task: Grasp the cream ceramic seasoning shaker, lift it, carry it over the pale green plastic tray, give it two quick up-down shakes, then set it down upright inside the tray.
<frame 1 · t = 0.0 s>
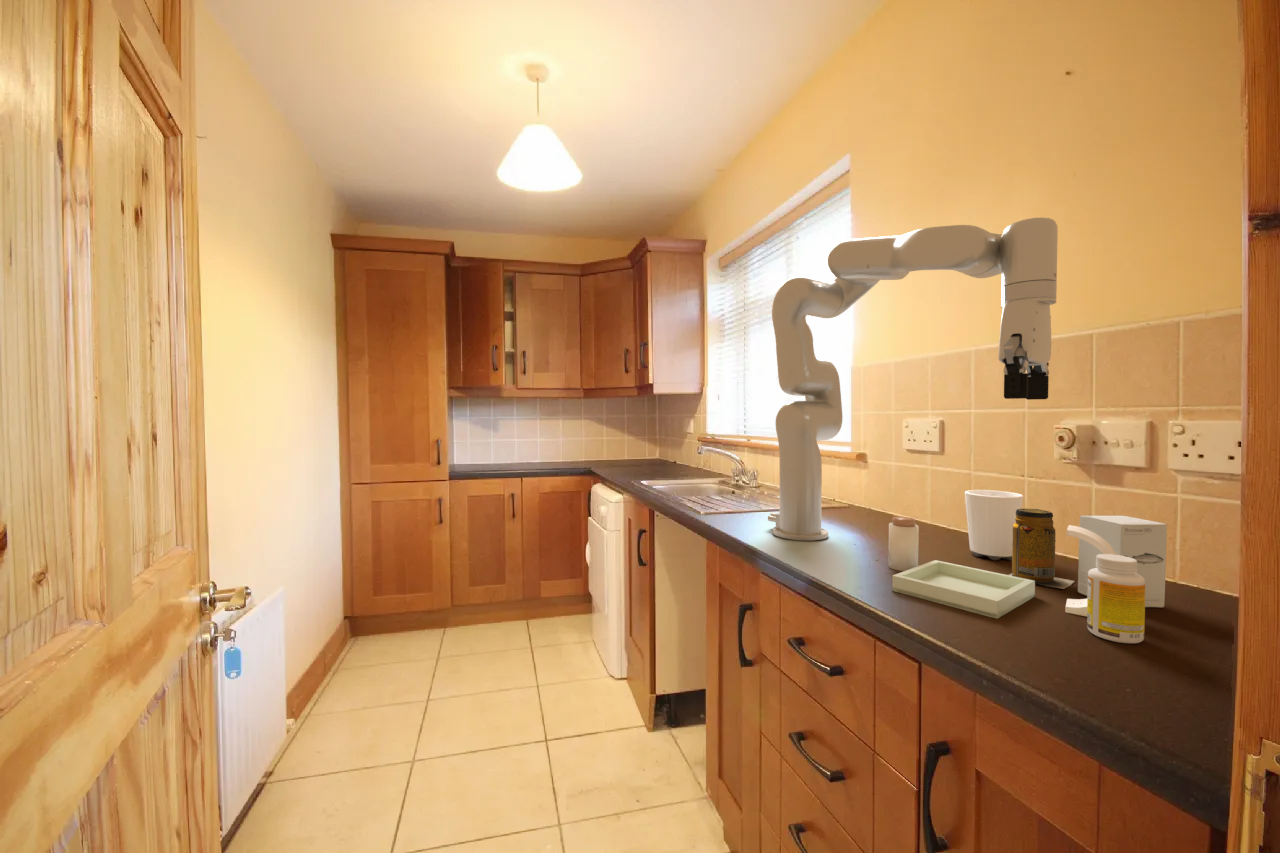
hand: (1026, 398, 90), 31 cm above the countertop, tool pointing down, fingers open, 9 cm apart
headphone stand: (1092, 614, 77), on the countertop
condiment: (1038, 581, 93), on the countertop
cup: (992, 557, 108), on the countertop
supplement bottle: (1114, 637, 69), on the countertop
supplement box: (1119, 601, 83), on the countertop
shaker: (903, 567, 100), on the countertop
tray: (962, 593, 86), on the countertop
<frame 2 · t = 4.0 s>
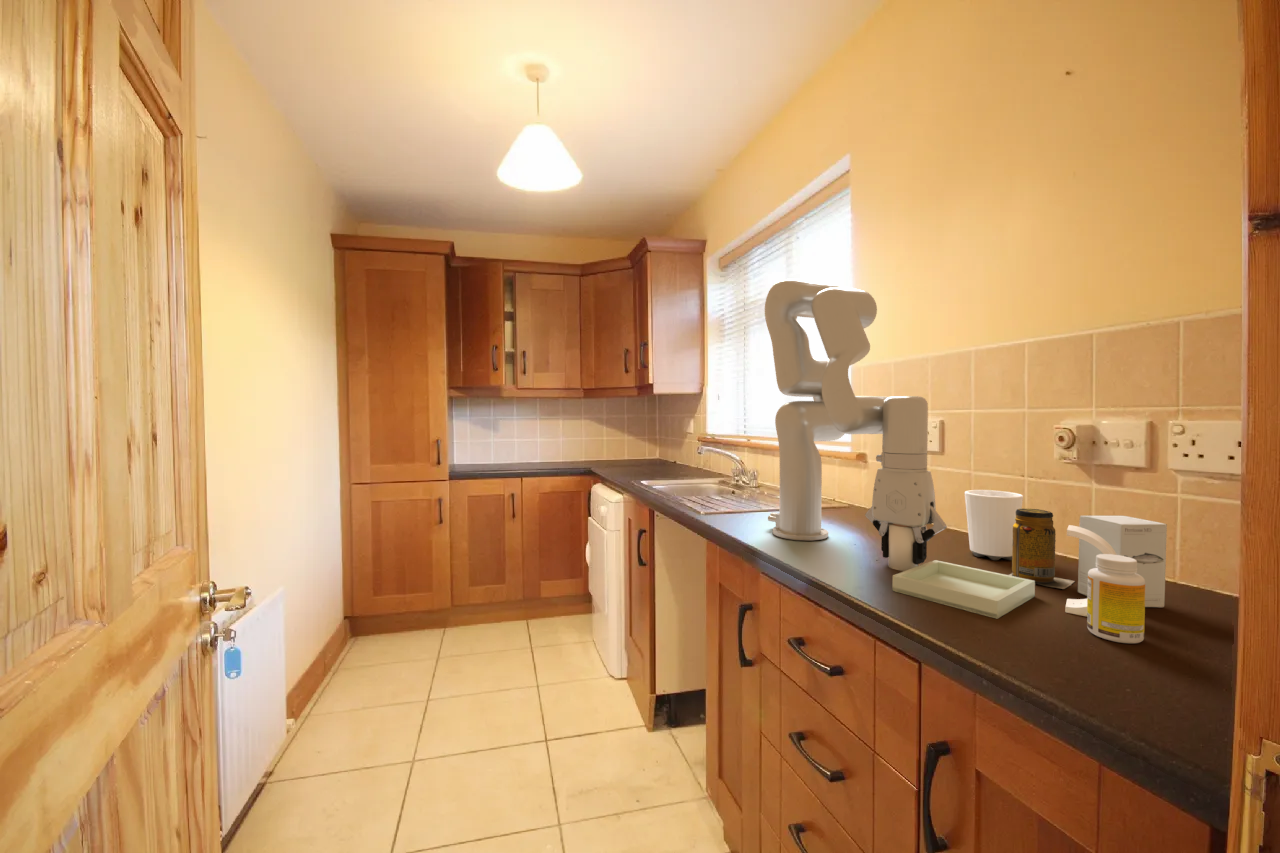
hand: (903, 558, 100), 2 cm above the countertop, tool pointing down, fingers closed on shaker, 5 cm apart
shaker: (903, 567, 100), on the countertop, touching gripper
everything else where it was.
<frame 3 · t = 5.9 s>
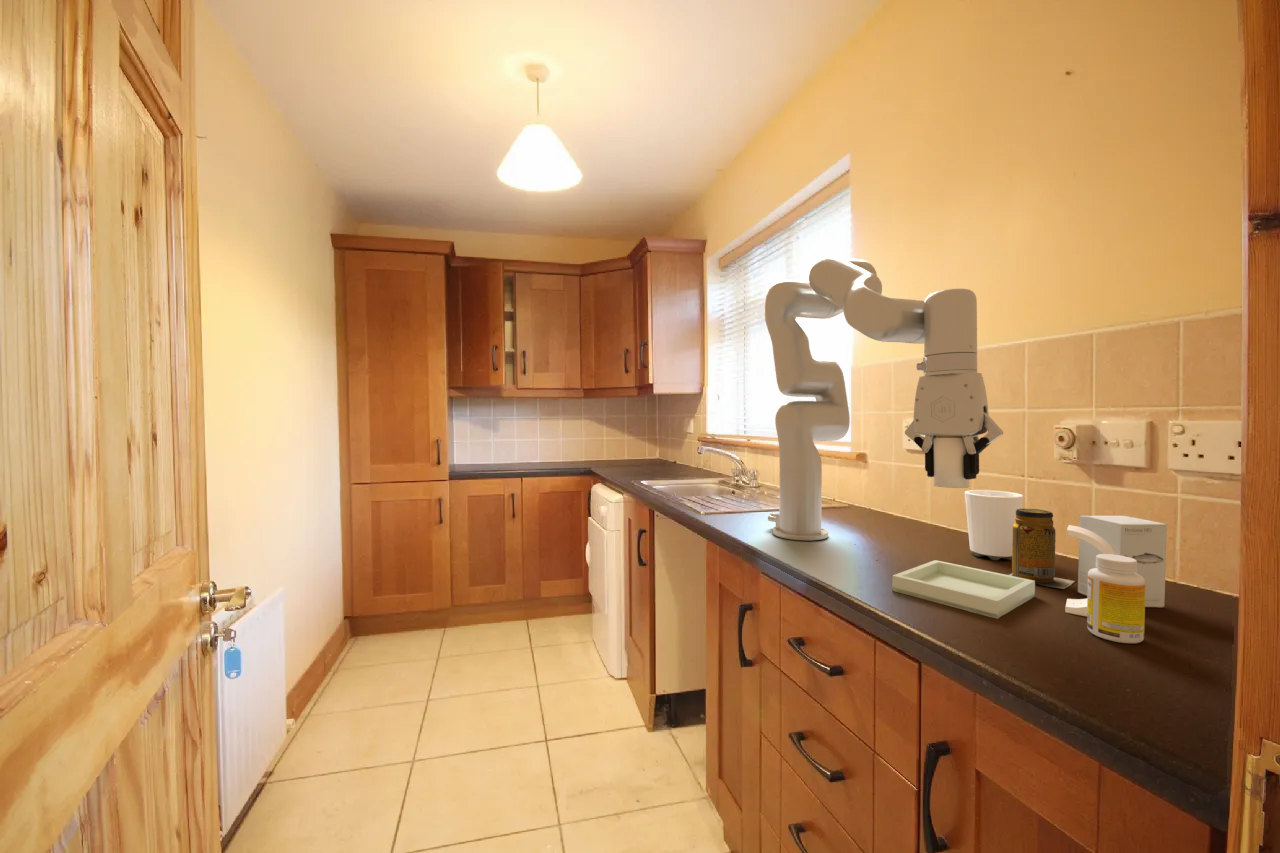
hand: (951, 476, 88), 18 cm above the countertop, tool pointing down, fingers closed on shaker, 5 cm apart
shaker: (951, 486, 88), point 17 cm above the countertop, touching gripper
everything else where it was.
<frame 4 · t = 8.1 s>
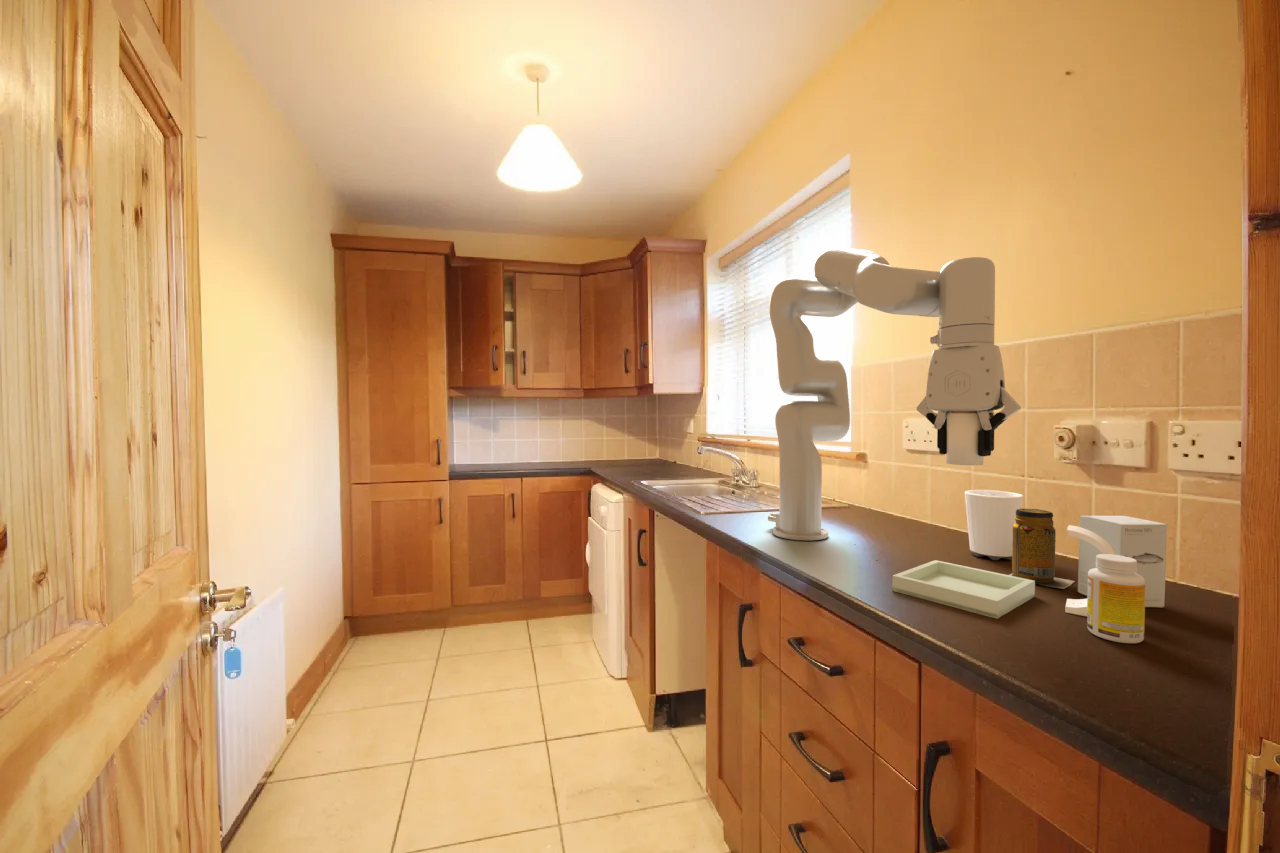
hand: (964, 453, 85), 22 cm above the countertop, tool pointing down, fingers closed on shaker, 5 cm apart
shaker: (964, 463, 85), point 21 cm above the countertop, touching gripper
everything else where it was.
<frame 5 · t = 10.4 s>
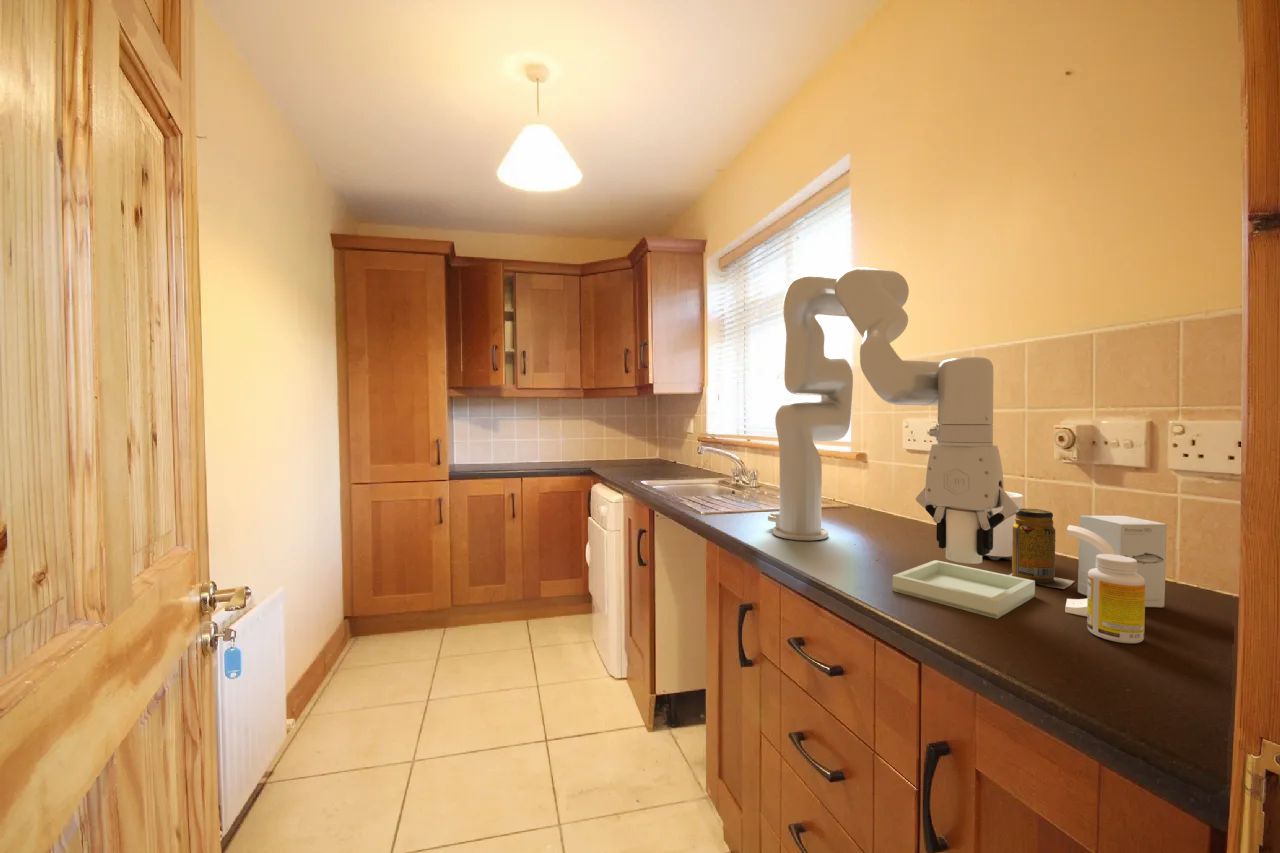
hand: (963, 549, 85), 7 cm above the countertop, tool pointing down, fingers closed on shaker, 5 cm apart
shaker: (963, 559, 85), point 6 cm above the countertop, touching gripper
everything else where it was.
when the fingers open (4 cm above the countertop, at t = 12.1 s): shaker drops 1 cm, resting on tray.
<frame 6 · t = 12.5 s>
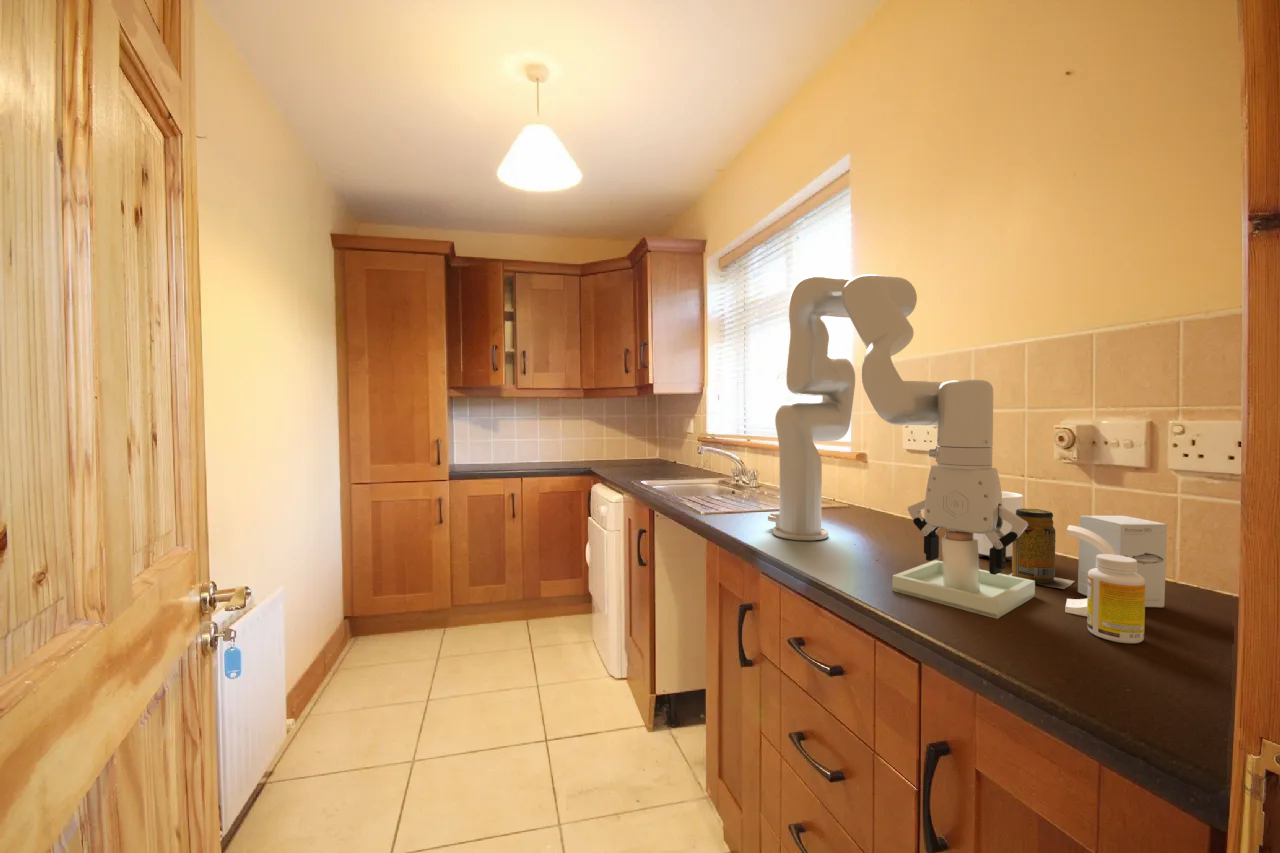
hand: (962, 565, 86), 4 cm above the countertop, tool pointing down, fingers open, 9 cm apart
shaker: (961, 588, 86), point 1 cm above the countertop, touching tray
everything else where it was.
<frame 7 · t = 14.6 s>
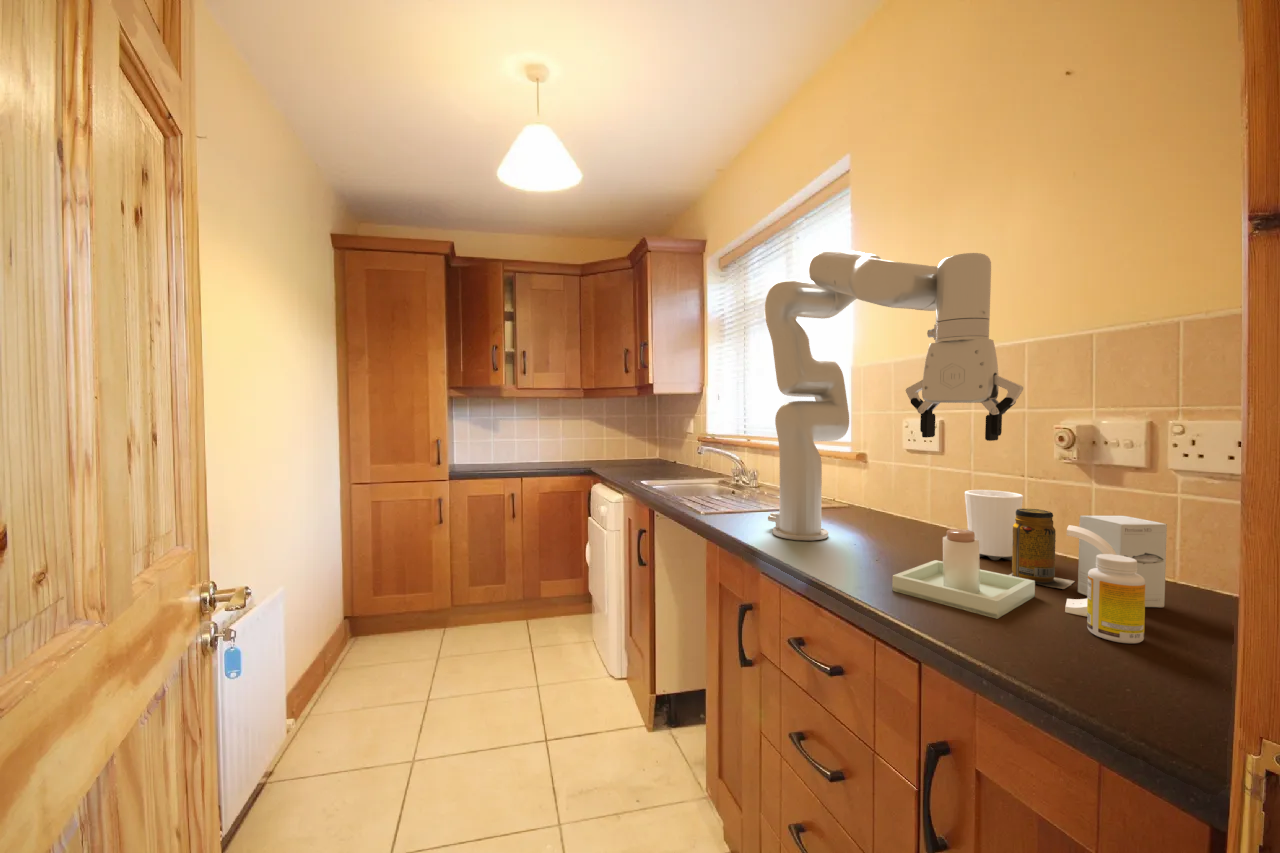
hand: (958, 438, 88), 25 cm above the countertop, tool pointing down, fingers open, 9 cm apart
nothing on the countertop moved.
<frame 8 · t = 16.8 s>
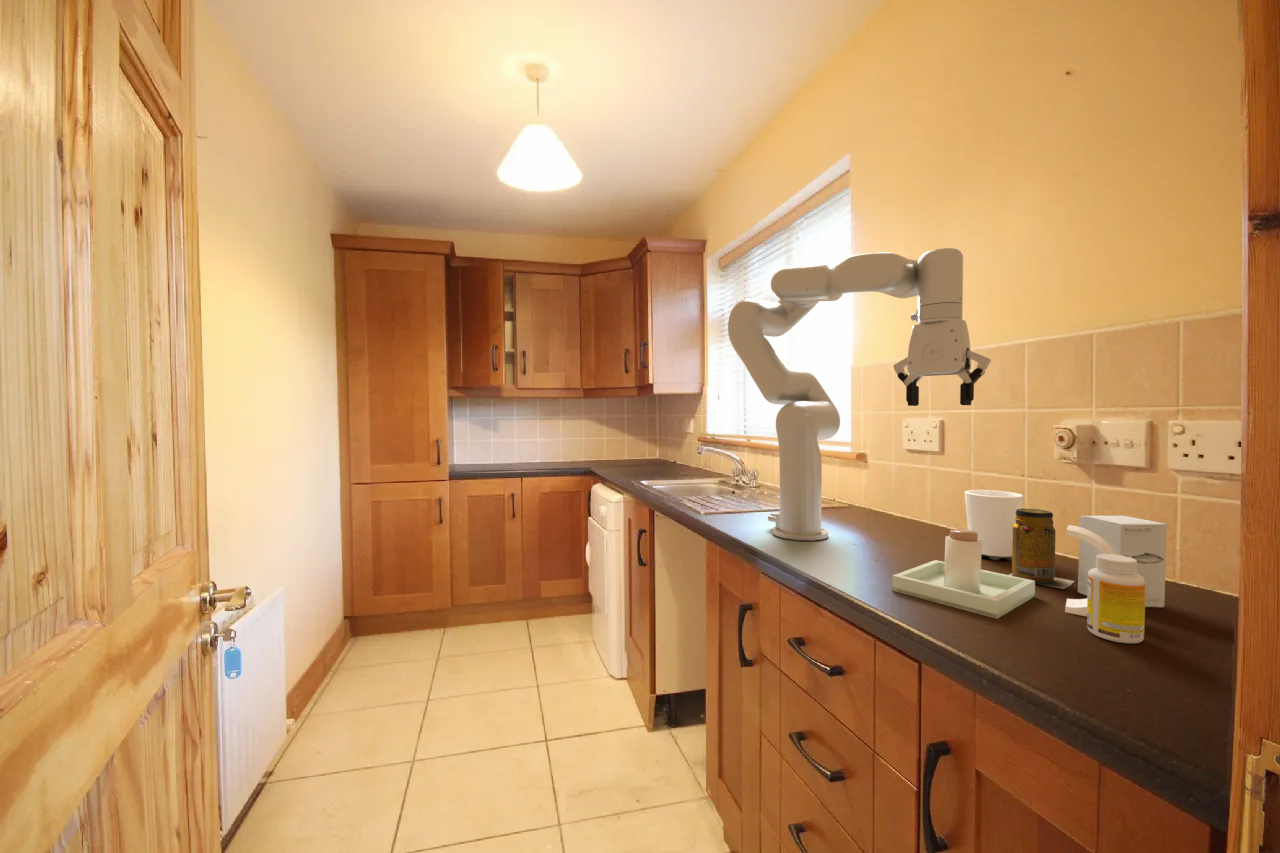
hand: (938, 405, 103), 30 cm above the countertop, tool pointing down, fingers open, 9 cm apart
nothing on the countertop moved.
at the end: shaker inside the target area on the tray (0.2 cm from its centre), point 0.7 cm above the tray's base; shaker tilted 2°; the gripper is holding nothing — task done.
